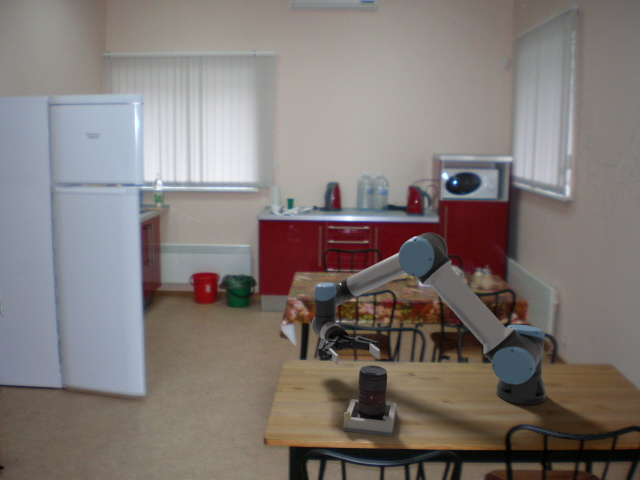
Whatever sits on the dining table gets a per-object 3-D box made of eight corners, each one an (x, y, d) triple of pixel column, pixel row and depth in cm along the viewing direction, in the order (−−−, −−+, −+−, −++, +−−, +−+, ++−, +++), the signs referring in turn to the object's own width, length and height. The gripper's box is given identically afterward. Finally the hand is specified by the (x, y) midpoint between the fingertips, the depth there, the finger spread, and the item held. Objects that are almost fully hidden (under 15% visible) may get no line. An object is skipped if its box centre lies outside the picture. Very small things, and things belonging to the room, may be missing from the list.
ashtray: (396, 414, 179) (397, 398, 178) (392, 436, 166) (393, 419, 165) (350, 409, 182) (351, 393, 181) (342, 430, 168) (343, 414, 168)
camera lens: (384, 426, 169) (386, 376, 167) (356, 423, 171) (357, 373, 168) (386, 414, 177) (388, 365, 174) (359, 411, 178) (360, 363, 176)
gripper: (369, 343, 205) (395, 364, 185) (299, 351, 197) (318, 374, 177) (369, 321, 204) (396, 340, 184) (298, 329, 196) (318, 349, 176)
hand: (358, 357), depth 180 cm, fingers open, 13 cm apart
